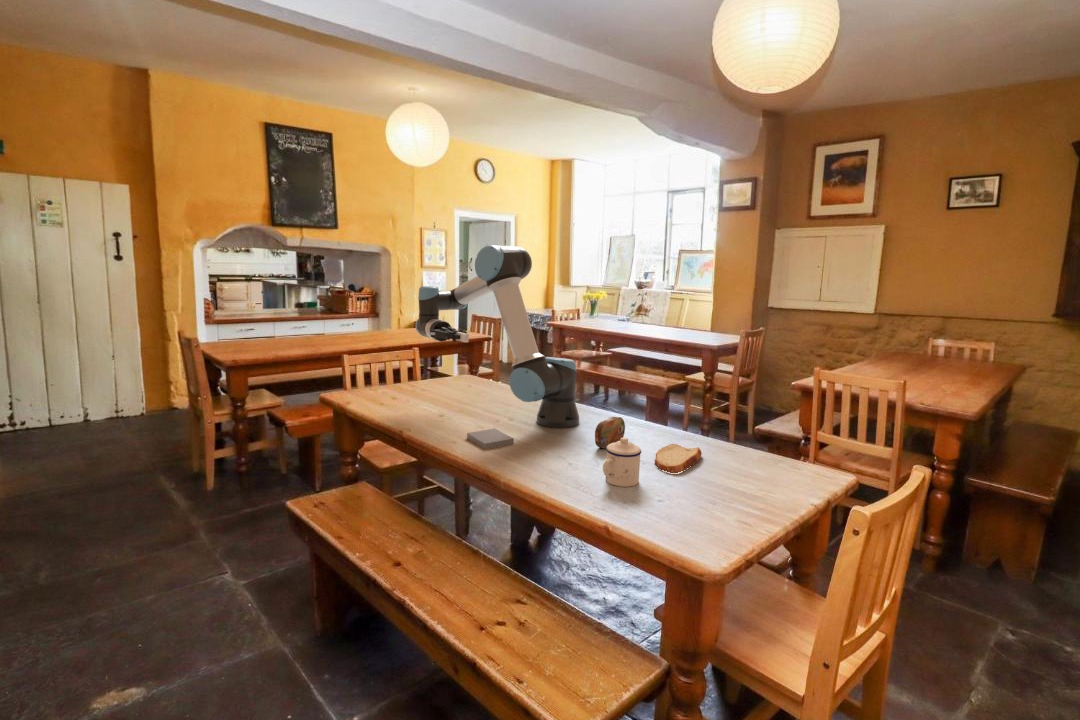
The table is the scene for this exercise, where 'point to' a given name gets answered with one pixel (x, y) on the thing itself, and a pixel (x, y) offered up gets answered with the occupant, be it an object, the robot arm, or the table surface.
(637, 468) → the teacup with lid
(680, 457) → the bread slice
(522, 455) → the table surface
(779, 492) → the table surface
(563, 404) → the robot arm
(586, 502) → the table surface
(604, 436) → the tin
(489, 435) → the ceramic tile
